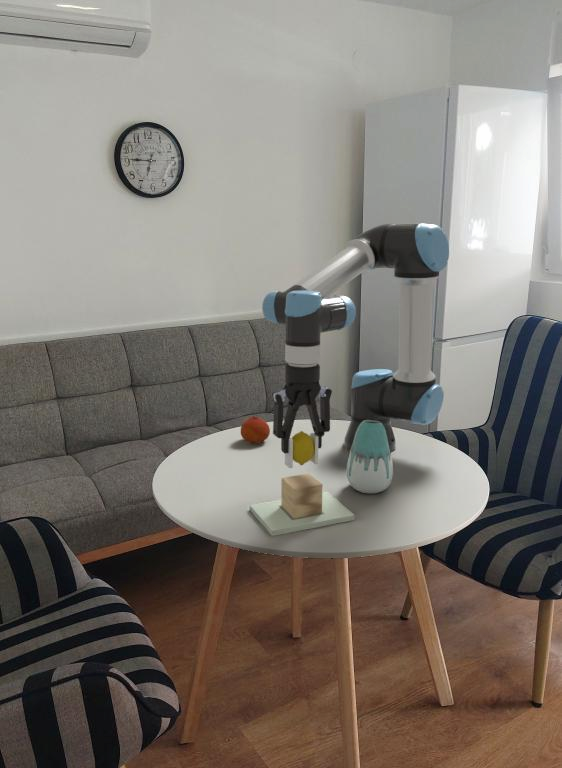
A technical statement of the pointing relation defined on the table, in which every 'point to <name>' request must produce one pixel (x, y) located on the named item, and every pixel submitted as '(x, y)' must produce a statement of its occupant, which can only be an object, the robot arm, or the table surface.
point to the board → (283, 522)
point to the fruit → (255, 430)
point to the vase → (370, 459)
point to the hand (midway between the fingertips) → (301, 463)
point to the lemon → (302, 447)
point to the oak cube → (301, 495)
